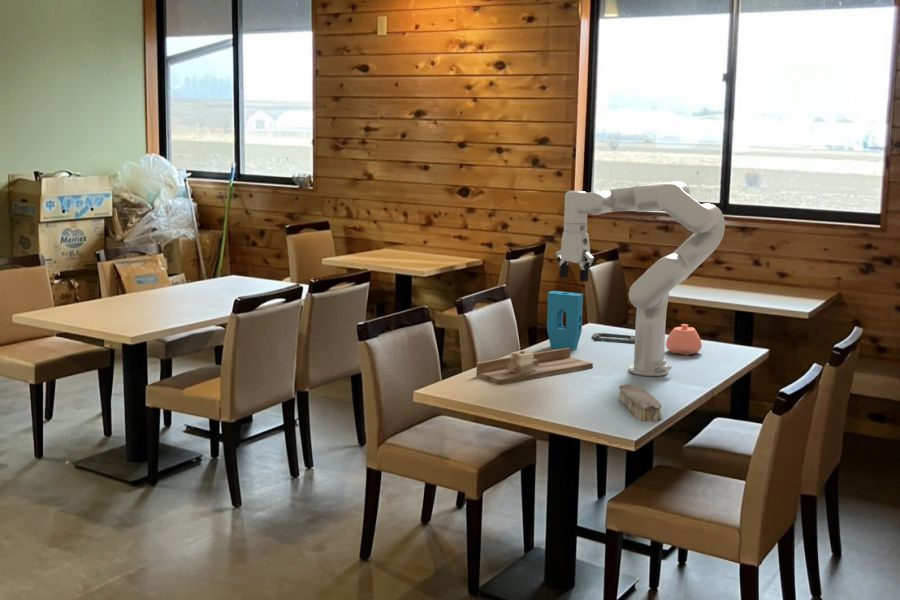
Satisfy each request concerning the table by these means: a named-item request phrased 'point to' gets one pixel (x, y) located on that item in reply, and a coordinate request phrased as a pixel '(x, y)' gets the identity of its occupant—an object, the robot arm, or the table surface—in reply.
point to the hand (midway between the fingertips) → (573, 279)
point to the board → (547, 366)
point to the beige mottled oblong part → (640, 403)
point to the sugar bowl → (684, 340)
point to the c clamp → (599, 338)
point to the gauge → (522, 362)
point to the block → (573, 310)
